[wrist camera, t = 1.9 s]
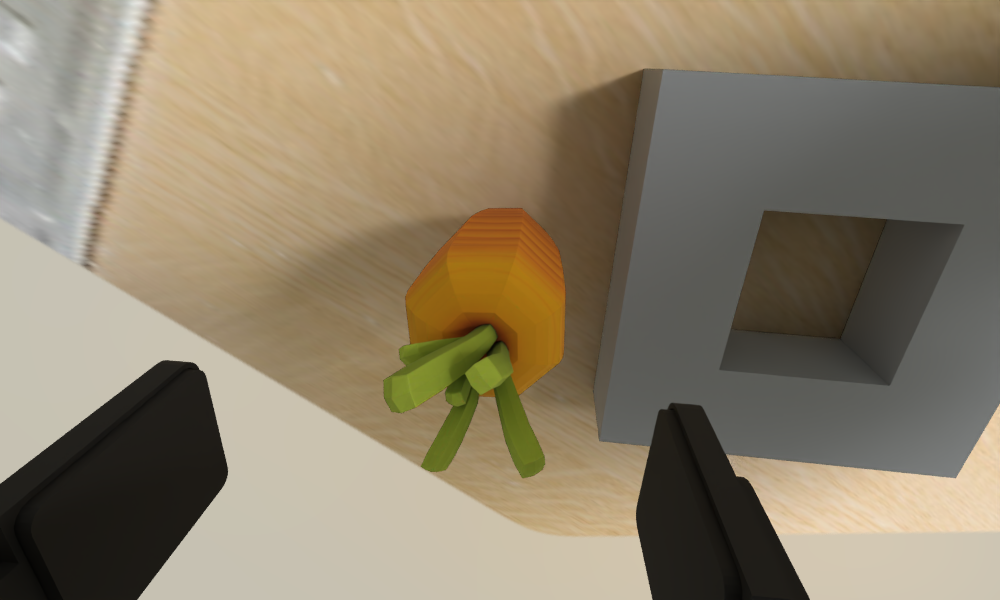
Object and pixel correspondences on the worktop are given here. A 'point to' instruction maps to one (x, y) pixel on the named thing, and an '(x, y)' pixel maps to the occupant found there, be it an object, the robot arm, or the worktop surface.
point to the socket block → (881, 299)
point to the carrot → (483, 330)
